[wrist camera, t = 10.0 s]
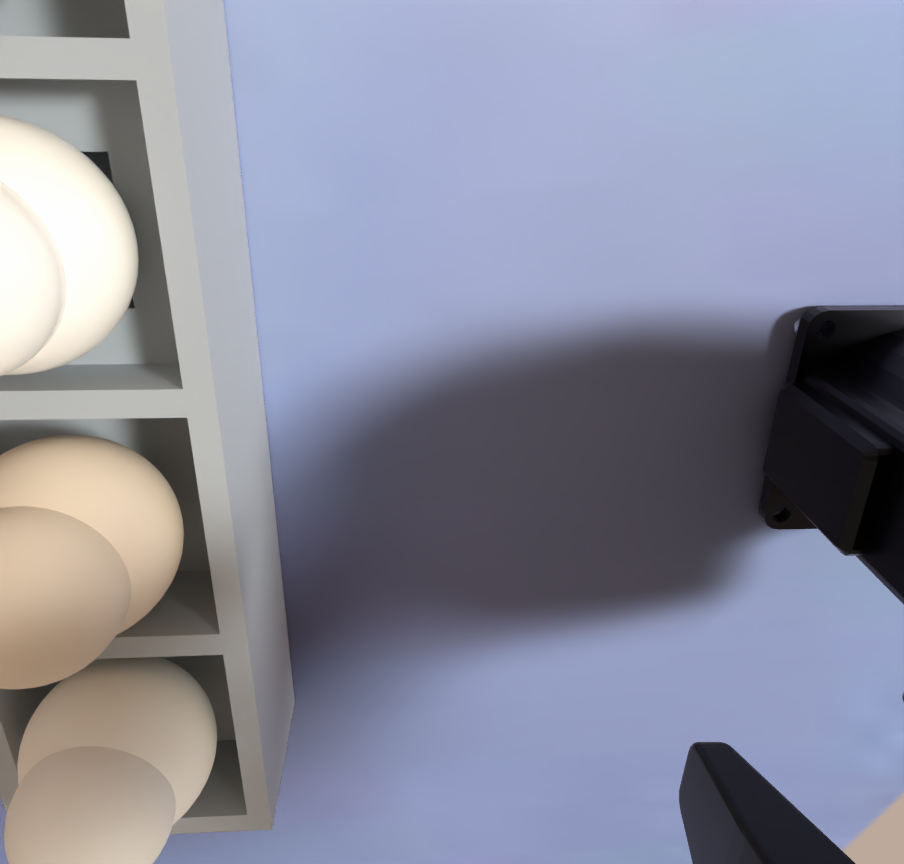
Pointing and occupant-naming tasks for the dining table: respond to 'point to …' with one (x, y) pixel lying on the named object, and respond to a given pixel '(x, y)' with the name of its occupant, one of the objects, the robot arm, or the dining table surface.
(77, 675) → the egg carton
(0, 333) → the egg
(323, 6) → the dining table surface
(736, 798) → the robot arm
